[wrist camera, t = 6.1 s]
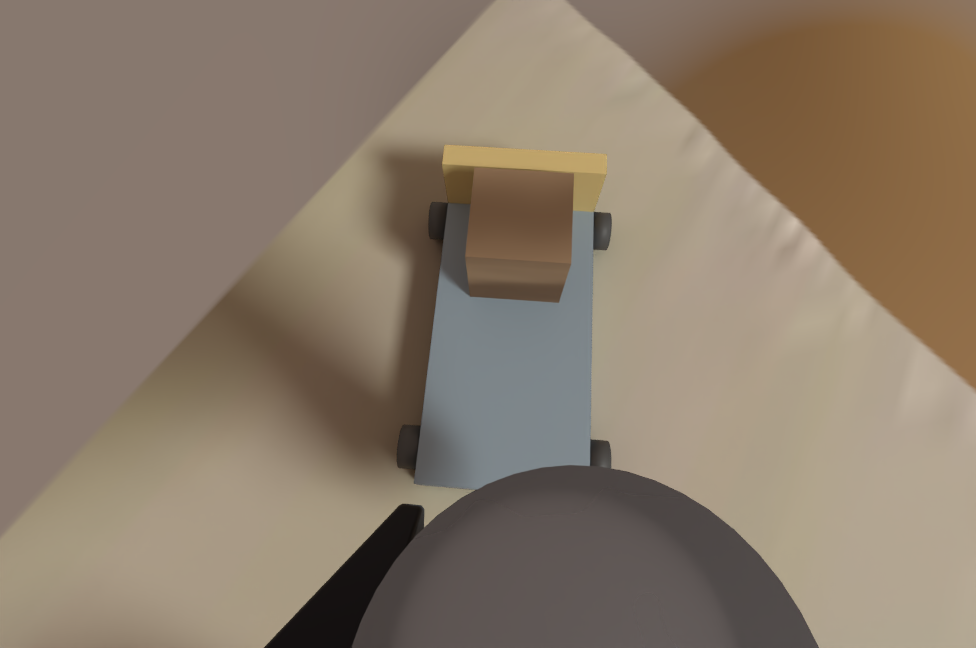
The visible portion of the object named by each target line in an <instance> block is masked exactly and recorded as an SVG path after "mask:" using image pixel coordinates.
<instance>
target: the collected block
mask: <svg viewBox="0 0 976 648" xmlns="http://www.w3.org/2000/svg"><path fill="white" fill-rule="evenodd" d="M573 191H574V173H560V172H544V171H527V170H510V169H494V168H477V167H474V177H473V186H472V196H471V205H470V215H469V224H468V234H467V243H466V253H465V260H466V268H467V276H468V285H469V293H470V297H482V298H496V299H510V300H525V301H539V302H553V303H559V301H560V297H561V294H562V291H563V288H564V285H565V282H566V279H567V276H568V272H569V269H570V266H571V258H572V224H573Z"/></svg>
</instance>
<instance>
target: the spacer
mask: <svg viewBox="0 0 976 648" xmlns="http://www.w3.org/2000/svg"><path fill="white" fill-rule="evenodd" d="M352 648H819V647H818V645H817V643H816V641H815V639H814V637H813V635H812V633H811V631H810V629H809V627H808V625H807V623H806V621H805V620H804V618H803V616H802V614H801V612H800V610H799V609H798V607H797V606H796V604H795V603H794V601H793V599H792V598H791V596H790V595H789V593H788V592H787V590H786V589H785V587H784V586H783V584H782V582H781V581H780V580H779V579H778V577H777V576H776V575H775V574H774V572H773V571H772V570H771V569H770V567H769V566H768V565H767V564H766V562H765V561H764V560H763V559H762V557H761V556H760V555H759V554H758V553H757V552H756V551H755V550H754V549H753V548H752V547H751V546H750V545H749V544H748V543H747V542H746V541H745V540H744V539H743V538H742V537H741V536H740V535H739V534H738V533H737V532H736V531H735V530H734V529H733V528H731V527H730V526H729V525H728V524H726V523H725V522H724V521H723V520H721V519H720V518H719V517H717V516H716V515H715V514H714V513H712V512H711V511H710V510H709V509H707V508H705V507H704V506H702V505H700V504H699V503H697V502H696V501H694V500H692V499H691V498H689V497H688V496H686V495H684V494H683V493H681V492H679V491H676V490H674V489H672V488H670V487H668V486H666V485H663V484H661V483H659V482H657V481H655V480H652V479H649V478H645V477H642V476H639V475H636V474H633V473H630V472H627V471H621V470H616V469H610V468H605V467H599V466H580V465H564V466H553V467H542V468H537V469H533V470H529V471H524V472H520V473H516V474H512V475H510V476H507V477H504V478H502V479H499V480H496V481H494V482H491V483H489V484H486V485H484V486H483V487H481V488H479V489H477V490H475V491H473V492H472V493H470V494H468V495H466V496H464V497H462V498H461V499H459V500H458V501H457V502H455V503H454V504H452V505H451V506H450V507H448V508H447V509H446V510H444V511H443V512H441V513H440V514H439V515H437V516H436V517H435V518H434V519H433V520H432V521H431V522H430V523H429V524H428V525H427V526H426V527H425V528H424V529H423V530H421V531H420V532H419V533H418V534H417V535H416V536H415V537H414V538H413V540H412V541H411V542H410V543H409V544H408V546H407V547H406V548H405V549H404V550H403V552H402V553H401V554H400V555H399V557H398V558H397V559H396V560H395V561H394V563H393V564H392V566H391V568H390V569H389V571H388V572H387V574H386V575H385V577H384V578H383V580H382V582H381V583H380V585H379V586H378V588H377V589H376V591H375V593H374V595H373V597H372V599H371V602H370V604H369V606H368V608H367V610H366V612H365V614H364V616H363V618H362V620H361V622H360V625H359V628H358V631H357V633H356V636H355V639H354V642H353V645H352Z"/></svg>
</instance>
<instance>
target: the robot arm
mask: <svg viewBox="0 0 976 648" xmlns="http://www.w3.org/2000/svg"><path fill="white" fill-rule="evenodd" d="M423 529H424V508H423V507H422V506H420V505H412V504H401V505H399V506H398V507H397V508H396V509H395V511H394V512H393V513H392V514H391V515H390V516H389V517H388V518H387V519H386V520H385V521H384V522H383V523H382V524H381V525H380V526H379V527H378V528H377V529H376V530H375V532H374V533H373V534H372V535H371V536H370V537H369V538H368V539H367V540H366V541H365V542H364V543H363V544H362V545H361V546H360V547H359V548H358V549H357V550H356V551H355V553H354V554H353V555H352V556H351V557H350V558H349V559H348V560H347V561H346V562H345V563H344V564H343V565H342V566H341V567H340V568H339V569H338V570H337V571H336V572H335V574H334V575H333V576H332V577H331V578H330V579H329V580H328V581H327V582H326V583H325V584H324V585H323V586H322V587H321V588H320V589H319V590H318V591H317V592H316V593H315V595H314V596H313V597H312V598H311V599H310V600H309V601H308V602H307V603H306V604H305V605H304V606H303V607H302V608H301V609H300V610H299V611H298V612H297V613H296V614H295V616H294V617H293V618H292V619H291V620H290V621H289V622H288V623H287V624H286V625H285V626H284V627H283V628H282V629H281V630H280V631H279V632H278V633H277V634H276V636H275V637H274V638H273V639H272V640H271V641H270V642H269V643H268V644H267V645H266V646H265V647H264V648H352V645H353V642H354V639H355V636H356V633H357V631H358V628H359V625H360V622H361V620H362V618H363V616H364V614H365V612H366V610H367V608H368V606H369V604H370V602H371V599H372V597H373V595H374V593H375V591H376V589H377V588H378V586H379V585H380V583H381V582H382V580H383V578H384V577H385V575H386V574H387V572H388V571H389V569H390V568H391V566H392V564H393V563H394V561H395V560H396V559H397V558H398V557H399V555H400V554H401V553H402V552H403V550H404V549H405V548H406V547H407V546H408V544H409V543H410V542H411V541H412V540H413V538H414V537H415V536H416V535H417V534H418V533H419V532H420V531H421V530H423Z"/></svg>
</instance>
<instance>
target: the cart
mask: <svg viewBox="0 0 976 648" xmlns="http://www.w3.org/2000/svg"><path fill="white" fill-rule="evenodd" d="M442 167H443V173H444V180H445V186H446V192H447V199H448V203H442V202H432V203H431V205H430V210H429V236H430V239H442V240H444V241H443V249H442V257H441V265H440V273H439V282H438V290H437V298H436V306H435V314H434V322H433V331H432V339H431V347H430V355H429V363H428V372H427V380H426V388H425V396H424V404H423V412H422V421H421V426H415V425H403V426H402V428H401V431H400V435H399V440H398V447H397V465H398V468H407V469H416V470H415V478H414V484H417V485H425V486H437V487H449V488H460V489H472V490H477V489H479V488H481V487H483V486H484V485H486V484H489V483H491V482H494V481H496V480H499V479H502V478H504V477H507V476H510V475H512V474H516V473H520V472H524V471H529V470H533V469H537V468H542V467H553V466H564V465H580V466H599V467H605V468H610V469H611V449H610V444H609V442H608V441H603V440H590V431H591V363H592V294H593V249H595V250H607V248H608V246H609V242H610V236H611V226H612V219H611V214H610V213H601V212H594V210H595V207H596V204H597V201H598V198H599V195H600V192H601V189H602V186H603V183H604V180H605V177H606V174H607V154H594V153H577V152H560V151H543V150H526V149H509V148H492V147H475V146H457V145H444V153H443V161H442ZM474 167H477V168H494V169H510V170H527V171H544V172H560V173H574V191H573V224H572V258H571V266H570V269H569V272H568V276H567V279H566V282H565V285H564V288H563V291H562V294H561V297H560V301H559V303H553V302H539V301H525V300H510V299H496V298H482V297H470V293H469V285H468V276H467V268H466V260H465V253H466V243H467V234H468V224H469V215H470V205H471V196H472V186H473V177H474Z"/></svg>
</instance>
